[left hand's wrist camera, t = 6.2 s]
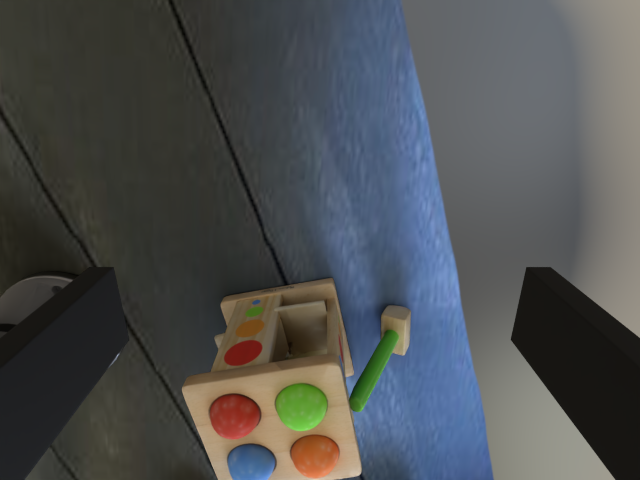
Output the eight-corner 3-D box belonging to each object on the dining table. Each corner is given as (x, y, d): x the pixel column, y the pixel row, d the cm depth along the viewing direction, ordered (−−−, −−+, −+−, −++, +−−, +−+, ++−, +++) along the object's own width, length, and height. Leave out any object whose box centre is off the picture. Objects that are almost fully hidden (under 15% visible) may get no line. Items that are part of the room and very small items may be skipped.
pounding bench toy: (402, 264, 48) (447, 361, 31) (415, 358, 53) (459, 484, 36) (220, 296, 49) (170, 404, 33) (250, 384, 54) (219, 516, 38)
